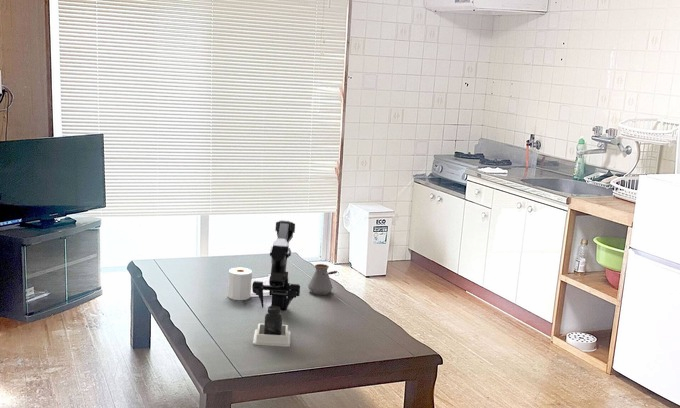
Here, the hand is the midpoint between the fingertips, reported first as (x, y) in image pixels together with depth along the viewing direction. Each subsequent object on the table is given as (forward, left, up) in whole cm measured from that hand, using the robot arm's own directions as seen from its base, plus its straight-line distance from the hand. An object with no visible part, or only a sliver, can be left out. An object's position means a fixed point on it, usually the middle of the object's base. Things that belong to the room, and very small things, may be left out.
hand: (274, 308), depth 285 cm
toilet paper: (-17, +42, -11) cm, 47 cm away
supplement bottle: (0, -4, -11) cm, 11 cm away
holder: (0, -4, -11) cm, 12 cm away
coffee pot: (+22, +50, -11) cm, 56 cm away
